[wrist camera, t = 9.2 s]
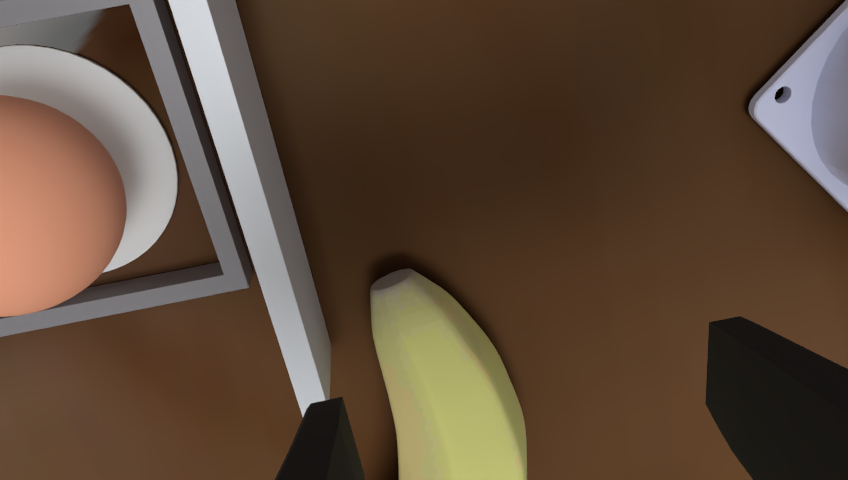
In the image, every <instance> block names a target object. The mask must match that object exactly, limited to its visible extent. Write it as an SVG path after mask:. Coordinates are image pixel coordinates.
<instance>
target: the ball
mask: <svg viewBox="0 0 848 480" xmlns="http://www.w3.org/2000/svg"><path fill="white" fill-rule="evenodd" d="M126 214H127V204H126V195H125V189H124V185H123V181H122V178H121V175H120V173H119V170H118V168H117V166H116V164H115V162H114V160H113V159H112V157H111V155H110V154H109V152H108V151H107V150H106V148H105V147H104V146H103V144H102V143H101V142H100V141H99V140H98V139H97V138H96V137H95V136H94V135H93V134H92V133H91V132H90V131H89V130H88V129H86V128H85V127H84V126H83V125H82V124H80V123H79V122H77V121H76V120H74V119H73V118H72V117H70V116H68V115H67V114H65V113H63V112H61V111H59V110H57V109H55V108H53V107H50V106H48V105H45V104H43V103H39V102H36V101H32V100H29V99H24V98H19V97H13V96H7V95H0V317H8V316H18V315H24V314H29V313H33V312H38V311H42V310H45V309H48V308H51V307H53V306H55V305H58V304H60V303H62V302H64V301H66V300H68V299H70V298H72V297H74V296H75V295H76V294H78V293H79V292H81V291H82V290H84V289H85V288H86V287H88V286H89V285H90V284H91V283H92V282H93V281H95V280H96V279H97V278H98V277H99V275H100V274H101V273H102V272H103V271H104V270H105V268H106V267H107V266H108V265H109V263H110V262H111V260H112V258H113V256H114V255H115V253H116V251H117V249H118V247H119V245H120V242H121V239H122V237H123V233H124V227H125V222H126Z"/></svg>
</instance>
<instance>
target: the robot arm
mask: <svg viewBox="0 0 848 480" xmlns="http://www.w3.org/2000/svg"><path fill="white" fill-rule="evenodd" d="M781 87H783V88H784V90H783V94H782V95H781V97H780V98H778V99H777V100H775V93H776V92H777V90H778V89H780V88H781ZM749 114H750V116H751V117H752V118H753V119H754V120H755V121H756V122H757V123H758V124H759V125H760V126H761V127H762V128H763V129H764V130H765V131H766V132H767V133H768V134H769V135H770V136H771V137H772V138H773V139H774V140H775V141H776V142H777V143H778V144H779V145H780V146H781V147H782V148H783V149H784V150H785V151H786V152H787V153H788V154H789V155H790V156H791V157H792V158H793V159H794V160H795V161H796V162H797V163H798V164H799V165H800V166H801V167H802V168H803V169H804V170H805V171H806V172H807V173H808V174H809V175H810V176H811V177H812V178H814V179H815V180H816V181H817V182H818V183H819V184H820V185H821V186H822V187H823V188H824V189H825V190H826V191H827V192H828V193H829V194H830V195H831V196H832V197H833V198H834V199H835V200H836V201H837V202H838V203H839V204H840V205H841V206H842V207H843V208H844V209H845V210H846V211H847V212H848V0H846V1H845V2H844V3H843V4H842V5H841V6H840V7H839V8H838V9H837V10H836V11H835V12H834V13H833V14H832V15H831V16H830V17H829V18H828V19H827V20H826V21H825V22H824V23H823V24H822V26H821V27H820V28H819V29H818V30H817V31H816V32H815V33H814V34H813V35H812V36H811V37H810V38H809V39H808V40H807V41H806V42H805V43H804V44H803V45H802V46H801V47H800V48H799V49H798V51H797V52H796V53H795V54H794V55H793V56H792V57H791V58H790V59H789V60H788V61H787V62H786V63H785V64H784V65H783V66H782V67H781V68H780V69H779V70H778V71H777V72H776V73H775V74H774V75H773V77H772V78H771V79H770V80H769V81H768V82H767V83H766V84H765V85H764V86H763V87H762V88H761V89H760V90H759V91H758V92H757V93H756V94H755V95H754V97H753V98H752V99H751V101H750V104H749ZM706 406H707V407H708V409H709V411H710V413H711V415H712V417H713V418H714V420H715V422H716V424H717V426H718V428H719V429H720V431H721V433H722V435H723V436H724V438H725V440H726V441H727V443H728V445H729V447H730V448H731V450H732V451H733V453H734V454H735V456H736V457H737V458H738V460H739V461H740V462H741V464H742V465H743V466H744V468H745V469H746V471H747V472H748V473H749V475H750V476H751V477H752V479H753V480H848V369H847V368H845V367H842V366H840V365H838V364H836V363H834V362H832V361H830V360H828V359H826V358H824V357H822V356H820V355H818V354H816V353H814V352H812V351H810V350H808V349H806V348H804V347H802V346H800V345H798V344H796V343H794V342H792V341H790V340H788V339H786V338H784V337H782V336H780V335H778V334H776V333H774V332H772V331H770V330H768V329H766V328H764V327H762V326H760V325H758V324H756V323H754V322H752V321H749V320H747V319H745V318H743V317H740V316H739V317H734V318H729V319H724V320H719V321H714V322H709V340H708V363H707V386H706ZM275 480H365V478H364V472H363V469H362V465H361V462H360V458H359V455H358V451H357V447H356V444H355V440H354V437H353V433H352V430H351V426H350V423H349V419H348V415H347V412H346V408H345V405H344V401H343V398H342V397H339V398H335V399H330V400H325V401H320V402H315V403H311V404H310V405H309V406H308V408H307V409H306V412H305V414H304V417H303V419H302V422H301V424H300V427H299V429H298V431H297V434H296V436H295V438H294V441H293V443H292V445H291V447H290V449H289V452H288V454H287V456H286V458H285V460H284V462H283V464H282V466H281V468H280V470H279V472H278V474H277V476H276V478H275Z"/></svg>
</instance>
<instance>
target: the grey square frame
mask: <svg viewBox="0 0 848 480" xmlns="http://www.w3.org/2000/svg"><path fill="white" fill-rule="evenodd" d="M126 4H130V7H131V10H132V13H133V16H134V19H135V22H136V24H137V27H138V30H139V33H140V36H141V39H142V42H143V44H144V47H145V50H146V53H147V56H148V59H149V62H150V64H151V67H152V70H153V73H154V76H155V79H156V82H157V84H158V87H159V90H160V93H161V96H162V99H163V102H164V105H165V107H166V110H167V113H168V116H169V119H170V122H171V125H172V127H173V130H174V133H175V136H176V139H177V142H178V145H179V147H180V150H181V153H182V156H183V159H184V162H185V165H186V167H187V170H188V173H189V176H190V179H191V182H192V185H193V188H194V190H195V193H196V196H197V199H198V202H199V205H200V208H201V210H202V213H203V216H204V219H205V222H206V225H207V228H208V230H209V233H210V236H211V239H212V242H213V245H214V248H215V251H216V253H217V256H218V259H219V262H217V263H211V264H206V265H201V266H196V267H191V268H186V269H181V270H176V271H171V272H166V273H160V274H155V275H150V276H145V277H140V278H135V279H130V280H125V281H120V282H115V283H109V284H104V285H99V286H94V287H89V288H85V289H84V290H82V291H81V292H79V293H78V294H76V295H75V296H74V297H72V298H70V299H68V300H66V301H64V302H62V303H60V304H58V305H55V306H53V307H51V308H48V309H45V310H42V311H38V312H33V313H29V314H24V315H18V316H8V317H0V337H2V336H7V335H12V334H17V333H22V332H27V331H32V330H37V329H43V328H48V327H53V326H58V325H63V324H68V323H73V322H78V321H83V320H88V319H93V318H98V317H103V316H108V315H113V314H118V313H124V312H129V311H134V310H139V309H144V308H149V307H154V306H159V305H164V304H169V303H174V302H179V301H184V300H189V299H194V298H200V297H205V296H210V295H215V294H220V293H225V292H230V291H235V290H240V289H245V288H249V285H250V281H251V278H252V274H253V271H252V268H251V265H250V262H249V259H248V256H247V253H246V250H245V247H244V244H243V241H242V237H241V234H240V231H239V228H238V225H237V222H236V219H235V216H234V213H233V210H232V207H231V204H230V201H229V197H228V194H227V191H226V188H225V185H224V182H223V179H222V176H221V173H220V170H219V167H218V164H217V161H216V158H215V154H214V151H213V148H212V145H211V142H210V139H209V136H208V133H207V130H206V127H205V124H204V121H203V118H202V115H201V111H200V108H199V105H198V102H197V99H196V96H195V93H194V90H193V87H192V84H191V81H190V78H189V75H188V71H187V68H186V65H185V62H184V59H183V56H182V53H181V50H180V47H179V44H178V41H177V38H176V35H175V32H174V28H173V25H172V22H171V19H170V16H169V13H168V10H167V7H166V4H165V1H164V0H0V27H7V26H12V25H17V24H23V23H28V22H33V21H39V20H44V19H49V18H55V17H61V16H66V15H71V14H77V13H82V12H88V11H93V10H99V9H104V8H109V7H115V6H120V5H126ZM0 95H7V96H13V97H19V98H24V99H29V100H32V101H36V102H39V103H43V104H45V105H48V106H50V107H53V108H55V109H57V110H59V111H61V112H63V113H65V114H67V115H68V116H70V117H72V118H73V119H74V120H76V121H77V122H79V123H80V124H82V125H83V126H84V127H85V128H86V129H88V130H89V131H90V132H91V133H92V134H93V135H94V136H95V137H96V138H97V139H98V140H99V141H100V142H101V143H102V144H103V146H104V147H105V148H106V150H107V151H108V152H109V154H110V155H111V157H112V159H113V160H114V162H115V164H116V166H117V168H118V170H119V173H120V175H121V178H122V181H123V185H124V189H125V195H126V204H127V214H126V222H125V227H124V233H123V237H122V239H121V242H120V245H119V247H118V249H117V251H116V253H115V255H114V256H113V258H112V260H111V262H110V263H109V265H108V266H107V267H106V268H105V270H104V271H103V272H107V271H110V270H113V269H116V268H118V267H121V266H123V265H125V264H127V263H129V262H131V261H133V260H134V259H136V258H138V257H139V256H140V255H142V254H143V253H144V252H146V251H147V250H148V249H149V248H150V247H151V246H152V245H153V244H154V243H155V242H156V241H157V239H158V238H159V237H160V235H161V234H162V232H163V231H164V230H165V228H166V226H167V224H168V222H169V220H170V218H171V216H172V214H173V210H174V207H175V204H176V200H177V193H178V169H177V162H176V157H175V154H174V150H173V147H172V144H171V142H170V139H169V137H168V135H167V132H166V130H165V128H164V127H163V125H162V123H161V122H160V120H159V118H158V116H157V115H156V114H155V112H154V111H153V110H152V108H151V107H150V106H149V104H148V103H147V102H146V101H145V100H144V99H143V98H142V97H141V96H140V95H139V94H138V93H137V91H136V90H135V89H133V88H132V87H131V86H130V85H129V84H127V83H126V82H125V81H124V80H123V79H121V78H120V77H119V76H117V75H116V74H114V73H113V72H111V71H110V70H108V69H107V68H105V67H103V66H101V65H99V64H97V63H95V62H94V61H92V60H90V59H87V58H85V57H82V56H80V55H77V54H75V53H72V52H69V51H65V50H60V49H57V48H53V47H47V46H39V45H8V46H0ZM103 272H102V273H103Z"/></svg>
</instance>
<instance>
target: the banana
mask: <svg viewBox="0 0 848 480" xmlns="http://www.w3.org/2000/svg"><path fill="white" fill-rule="evenodd" d="M370 299H371V326H372V333H373V339H374V343H375V347H376V352H377V355H378V359H379V363H380V366H381V370H382V374H383V378H384V381H385V385H386V389H387V392H388V396H389V401H390V405H391V409H392V414H393V418H394V423H395V428H396V435H397V447H398V466H399V480H527V446H526V432H525V423H524V418H523V413H522V410H521V407H520V404H519V401H518V398H517V395H516V393H515V390H514V388H513V386H512V383H511V381H510V379H509V376H508V374H507V371H506V369H505V367H504V365H503V362H502V360H501V358H500V356H499V354H498V352H497V351H496V349H495V347H494V346H493V344H492V343H491V341H490V340H489V338H488V337H487V336H486V334H485V333H484V332H483V330H482V329H481V328H480V327H479V326H478V324H477V323H476V322H475V321H474V320H473V319H472V318H471V316H470V315H469V314H468V313H467V312H466V311H465V310H464V309H463V308H462V306H461V305H460V304H459V303H458V302H457V301H456V300H455V299H454V298H453V297H452V296H451V295H450V294H449V293H447V292H446V291H445V290H444V289H442V288H441V287H439V286H438V285H436V284H435V283H433V282H432V281H430V280H428V279H427V278H425V277H423V276H422V275H420V274H418V273H417V272H415V271H413V270H412V269H402V270H398V271H395V272H392V273H390V274H388V275H386V276H384V277H382V278H380V279H378V280H377V281H376V282H374V283H373V284H372V286H371V288H370Z"/></svg>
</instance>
